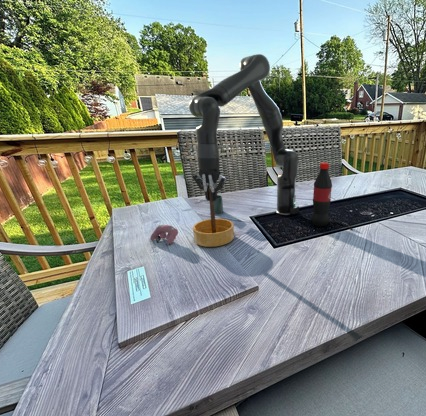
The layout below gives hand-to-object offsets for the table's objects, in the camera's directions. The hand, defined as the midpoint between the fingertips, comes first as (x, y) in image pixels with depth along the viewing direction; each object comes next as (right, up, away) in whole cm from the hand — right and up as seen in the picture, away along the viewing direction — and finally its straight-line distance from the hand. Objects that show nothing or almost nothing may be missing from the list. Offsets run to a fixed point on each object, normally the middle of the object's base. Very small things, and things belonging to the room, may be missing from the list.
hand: (211, 200), depth 102 cm
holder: (-8, -6, +33) cm, 34 cm away
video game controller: (-19, -16, +3) cm, 25 cm away
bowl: (-1, -16, +5) cm, 17 cm away
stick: (-1, -14, +5) cm, 15 cm away
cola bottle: (+44, -11, +25) cm, 52 cm away
